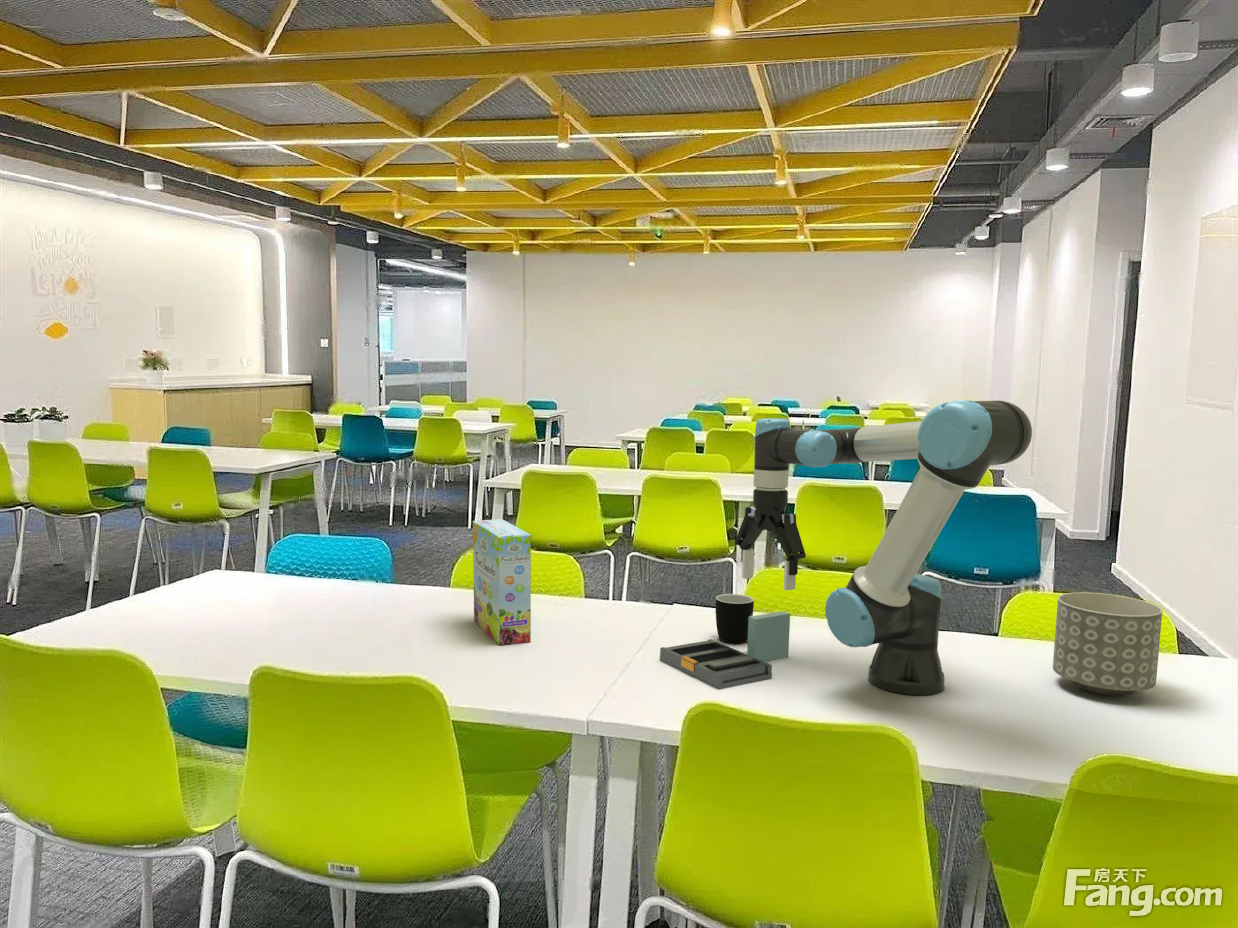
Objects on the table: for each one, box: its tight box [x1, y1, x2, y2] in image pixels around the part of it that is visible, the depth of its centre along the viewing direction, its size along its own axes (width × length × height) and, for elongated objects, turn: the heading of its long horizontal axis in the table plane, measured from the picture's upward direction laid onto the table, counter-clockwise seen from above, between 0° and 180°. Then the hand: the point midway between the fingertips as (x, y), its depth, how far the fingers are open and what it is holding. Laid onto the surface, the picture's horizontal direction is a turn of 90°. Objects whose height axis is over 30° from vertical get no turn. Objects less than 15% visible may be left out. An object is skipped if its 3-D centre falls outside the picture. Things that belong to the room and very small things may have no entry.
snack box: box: [472, 518, 532, 646], centre depth 222 cm, size 22×9×26 cm, turn 25°
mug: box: [715, 593, 755, 645], centre depth 222 cm, size 12×9×10 cm
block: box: [746, 610, 791, 663], centre depth 207 cm, size 2×10×10 cm, turn 122°
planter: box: [1052, 591, 1163, 697], centre depth 192 cm, size 19×19×18 cm
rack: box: [659, 638, 773, 690], centre depth 199 cm, size 21×14×4 cm
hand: (767, 583), depth 207 cm, fingers open, 13 cm apart
